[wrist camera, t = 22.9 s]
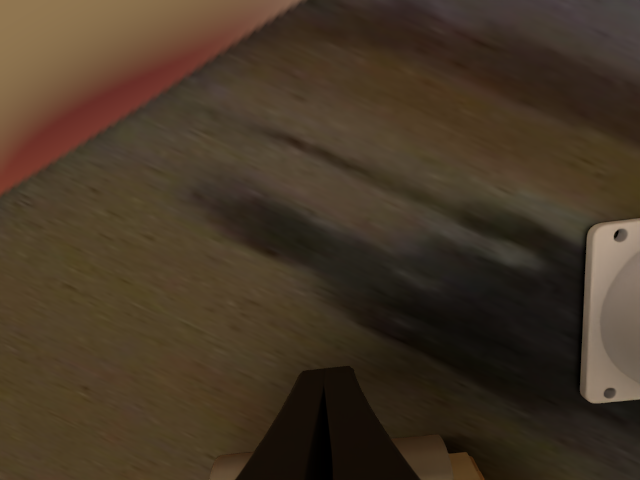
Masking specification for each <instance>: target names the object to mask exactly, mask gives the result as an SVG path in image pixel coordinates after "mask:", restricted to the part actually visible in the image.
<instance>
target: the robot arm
mask: <svg viewBox="0 0 640 480" xmlns="http://www.w3.org/2000/svg"><path fill="white" fill-rule="evenodd" d="M617 230H618V232H619V233H618V236H617V237H616V238H615V239H614V234H615V232H616V231H617ZM606 389H607V390H606ZM605 390H606V391H605ZM580 394H581V395H582V396H583V397H584V398H585V399H586V400H587V401H589V402H591V403H606V402H616V401H626V400H636V399H640V218H636V219H628V220H620V221H612V222H603V223H598V224H595V225H594V226H593V227H591V228H590V230H589V231H588V234H587V244H586V266H585V288H584V310H583V331H582V353H581V375H580ZM235 480H421V479H420V478H419V477H418V475H417V474H416V473H415V472H414V470H413V469H412V468H411V466H410V465H409V464H408V462H407V461H406V460H405V458H404V457H403V455H402V454H401V453H400V451H399V450H398V448H397V447H396V446H395V444H394V443H393V441H392V440H391V438H390V437H389V435H388V434H387V433H386V431H385V430H384V428H383V426H382V425H381V423H380V422H379V420H378V418H377V417H376V415H375V413H374V412H373V410H372V409H371V407H370V405H369V403H368V402H367V400H366V398H365V396H364V394H363V392H362V390H361V388H360V386H359V384H358V381H357V379H356V376H355V373H354V369H353V368H351V367H350V366H342V367H333V368H324V369H315V370H306V371H302V372H301V374H300V375H299V377H298V379H297V381H296V383H295V385H294V387H293V389H292V390H291V392H290V394H289V396H288V398H287V400H286V401H285V403H284V405H283V407H282V409H281V410H280V412H279V414H278V415H277V417H276V419H275V420H274V422H273V423H272V425H271V427H270V428H269V430H268V432H267V433H266V435H265V437H264V438H263V440H262V441H261V443H260V444H259V446H258V447H257V448H256V450H255V451H254V453H253V454H252V456H251V457H250V459H249V460H248V462H247V463H246V465H245V466H244V468H243V469H242V470H241V472H240V473H239V475H238V476H237V477H236V479H235Z"/></svg>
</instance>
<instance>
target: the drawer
mask: <svg viewBox="0 0 640 480" xmlns="http://www.w3.org/2000/svg"><path fill="white" fill-rule="evenodd" d="M391 440H392V441H393V443H394V444H395V446H396V447H397V448H398V450H399V451H400V453H401V454H402V455H403V457H404V458H405V460H406V461H407V462H408V464H409V465H410V466H411V468H412V469H413V470H414V472H415V473H416V474H417V475H418V477H419V478H420V479H421V480H481V479H480V477H479V475H478V473H477V471H476V469H475V467H474V465H473V463H472V461H471V459H470V457H469V455H468V453H467V452H462V453H451V454H448V451H447V448H446V446H445V443H444V441H443V440H442V438H441V436H440V435H437V434H435V435H424V436H414V437H403V438H393V439H391ZM253 453H254V452H247V453H237V454H227V455H220V456H219V457H217V458H216V460H215V462H214V464H213V467H212V470H211V475H210V480H235V479H236V477H237V476H238V475H239V473H240V472H241V470H242V469H243V468H244V466H245V465H246V463H247V462H248V460H249V459H250V457H251V456H252V454H253Z"/></svg>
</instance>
